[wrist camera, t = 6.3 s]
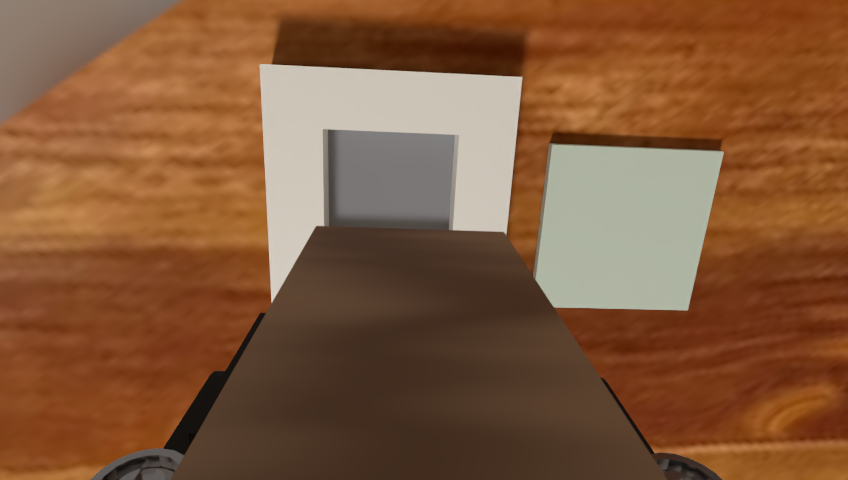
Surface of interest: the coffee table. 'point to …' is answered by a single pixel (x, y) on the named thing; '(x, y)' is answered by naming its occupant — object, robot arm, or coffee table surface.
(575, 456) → the walnut block
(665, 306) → the green mat
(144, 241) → the coffee table surface
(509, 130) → the pocket plate
